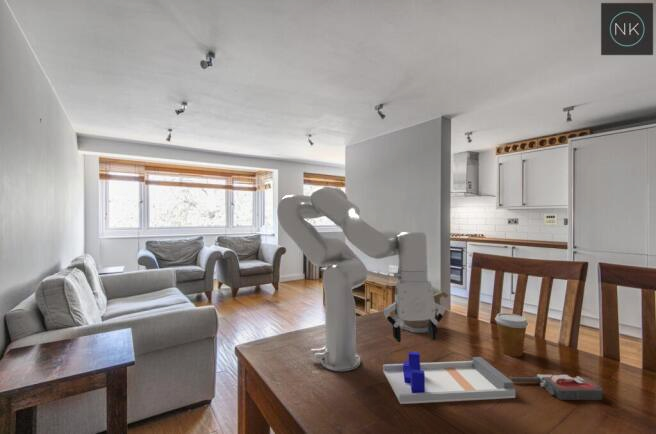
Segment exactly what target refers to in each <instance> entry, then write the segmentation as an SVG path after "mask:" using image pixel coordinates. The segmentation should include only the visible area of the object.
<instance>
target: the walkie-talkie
mask: <svg viewBox="0 0 656 434" xmlns="http://www.w3.org/2000/svg"><path fill="white" fill-rule="evenodd" d="M510 380H511V381H512V382H513V383H514V382H517V383H518V382H519V383H520V382H522V383H523V382H526V383H527V382H528V383H529V382H530V383H531V382H535V383H539V384H540V387H541V388H544V389H545V390H546V391H548V393H549V394H550V395H551V396H554V397H555V398H556V399H557V400H561V401H562V400H563V401H564V400H565V401H580V400H581V401H587V400H588V401H602V400H603V388H602V387H601V386H600V385H599V384H596V383H595V382H594V381H592V380H590V379H589V378H587V377H581V376H579V375H577V376H575V377H574V376H570V375H568V374H540V373H538V374H536V376H533V377H529V376H528V377H518V376H517V377H515V376H514V377H510Z"/></svg>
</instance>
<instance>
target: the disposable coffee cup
mask: <svg viewBox="0 0 656 434" xmlns="http://www.w3.org/2000/svg"><path fill="white" fill-rule="evenodd" d="M494 320H495V322H496V325H497V328H496V329H497V333H498V334H497V335H498V340H499V341H498V342H499V348H500V352H501V353H503V354H505V355H507V356H511V357H521V356H523V350H524V344H525V338H526V337H525V336H526V331H527V327H528V325H529V322H528V320H527V318H526V317H524V316H522V315H519V314H514V313H507V312H499V313H497V314H496V317H495V318H494Z"/></svg>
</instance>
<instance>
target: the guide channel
mask: <svg viewBox="0 0 656 434" xmlns="http://www.w3.org/2000/svg"><path fill="white" fill-rule="evenodd" d="M382 367H383V368H382V370H383V374H384V376H385V377H386V379H387V381H388V383H389V385H390V387H391V389H392V391H393V392H394V395H395V397H396V399H397V400H398V402H399V404H400V405H405V404H407V405H408V404H422V403H423V404H427V403H444V402H463V401H480V400H499V399H500V400H501V399H516V389H515V388H514V382H513V381H511V378H509V377H507V376H506V375H504V374H503V373H502V372H501V371H499V370H498V369H497V368H495V367H494V366H493V365H492V364H490V363H489V362H488V361H487V360H485V359H484V358H482V357H481V356H473V357H472V360H463V361H462V360H461V361H459V360H458V361H439V362H438V361H437V362H435V361H434V362H420V370H422V371H424V373H425V393H412V391H411V385H410V383H405V382H404V374H403V363H388V364H386V363H385V364H383V365H382Z"/></svg>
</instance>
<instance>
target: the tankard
mask: <svg viewBox="0 0 656 434" xmlns="http://www.w3.org/2000/svg"><path fill="white" fill-rule="evenodd" d="M433 295H434V302H435V303H437V304H439V305H441V299H440V298H442V297H443V298H446V299H448V296H449V294H448V293H446V292H444V291H439V292H437V293H434V294H433ZM435 311H436V312H437V311H438V309H437V308H435ZM443 315H444V314H443ZM443 315H442V316H443ZM443 317H444V316H443ZM428 322H430V320H417V321H403V320H402V322H401V323H400V324H399V327H400V329H402V330H403V329H404V331H406V330H407V332H410V333H415V334H416V333H420V334H423V333H424V334H427V333H428ZM440 322H441V320H440V321H439V322H438V323H440ZM426 332H427V333H426Z"/></svg>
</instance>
